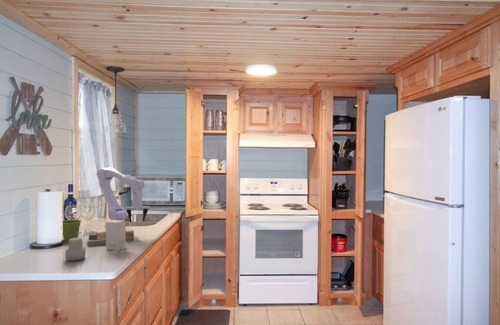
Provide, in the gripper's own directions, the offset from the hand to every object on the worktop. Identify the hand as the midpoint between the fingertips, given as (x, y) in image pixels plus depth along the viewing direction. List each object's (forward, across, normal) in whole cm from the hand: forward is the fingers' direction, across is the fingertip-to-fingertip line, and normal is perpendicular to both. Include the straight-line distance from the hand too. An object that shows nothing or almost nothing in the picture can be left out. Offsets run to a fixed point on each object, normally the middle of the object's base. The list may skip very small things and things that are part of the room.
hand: (137, 221), depth 226 cm
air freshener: (+10, -33, -38) cm, 51 cm away
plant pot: (+10, -37, +6) cm, 39 cm away
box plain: (+9, -20, -2) cm, 23 cm away
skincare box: (+10, -14, -26) cm, 31 cm away
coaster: (+10, -5, -6) cm, 13 cm away
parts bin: (+10, -20, -6) cm, 24 cm away
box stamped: (+9, -5, -6) cm, 12 cm away
